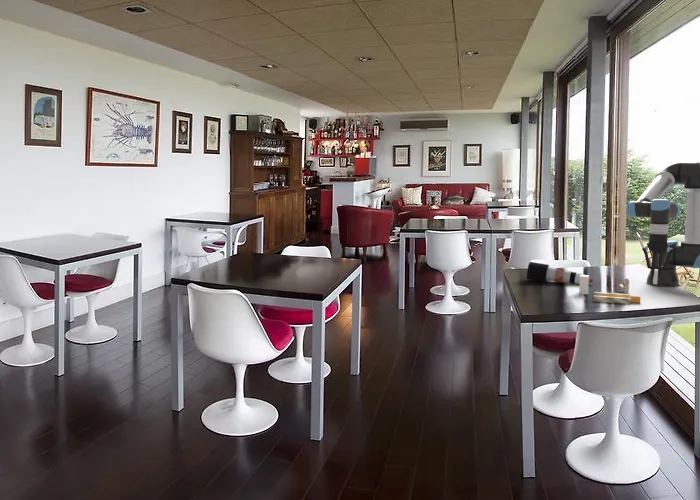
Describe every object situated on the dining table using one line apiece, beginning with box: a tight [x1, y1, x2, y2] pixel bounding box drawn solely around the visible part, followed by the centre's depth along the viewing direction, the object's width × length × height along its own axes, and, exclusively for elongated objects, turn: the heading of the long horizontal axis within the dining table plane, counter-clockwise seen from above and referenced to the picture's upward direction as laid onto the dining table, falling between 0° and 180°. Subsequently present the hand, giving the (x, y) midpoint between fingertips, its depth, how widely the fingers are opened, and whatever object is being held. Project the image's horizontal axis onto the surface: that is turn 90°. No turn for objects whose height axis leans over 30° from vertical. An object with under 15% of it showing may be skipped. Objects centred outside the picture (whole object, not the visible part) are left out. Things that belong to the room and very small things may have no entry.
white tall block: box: [578, 274, 590, 295], centre depth 291 cm, size 4×4×9 cm
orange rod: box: [603, 294, 641, 304], centre depth 273 cm, size 16×3×3 cm
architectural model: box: [618, 277, 630, 294], centre depth 292 cm, size 3×7×7 cm, turn 162°
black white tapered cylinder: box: [526, 261, 594, 285], centre depth 316 cm, size 10×34×10 cm
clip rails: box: [593, 291, 632, 305], centre depth 276 cm, size 16×10×2 cm, turn 66°
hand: (655, 283), depth 267 cm, fingers closed
